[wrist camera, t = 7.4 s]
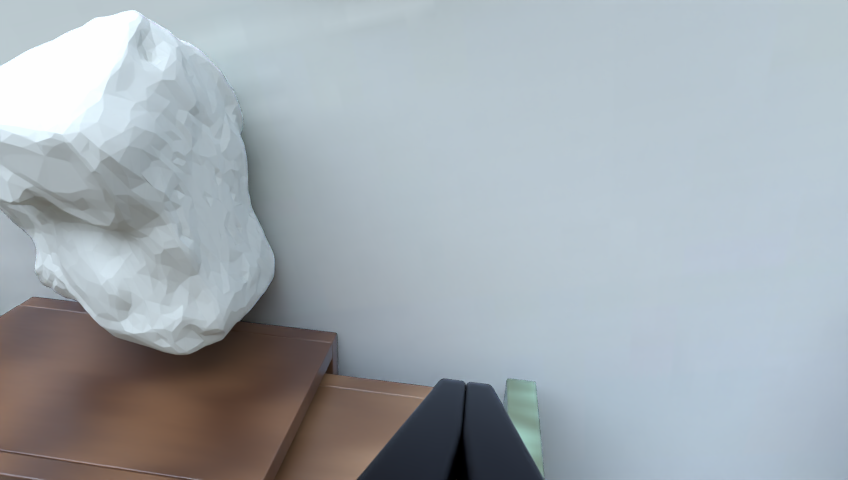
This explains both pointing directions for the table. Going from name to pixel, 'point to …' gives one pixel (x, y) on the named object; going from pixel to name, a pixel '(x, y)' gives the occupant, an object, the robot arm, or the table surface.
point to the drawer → (379, 425)
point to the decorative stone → (133, 182)
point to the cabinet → (150, 399)
